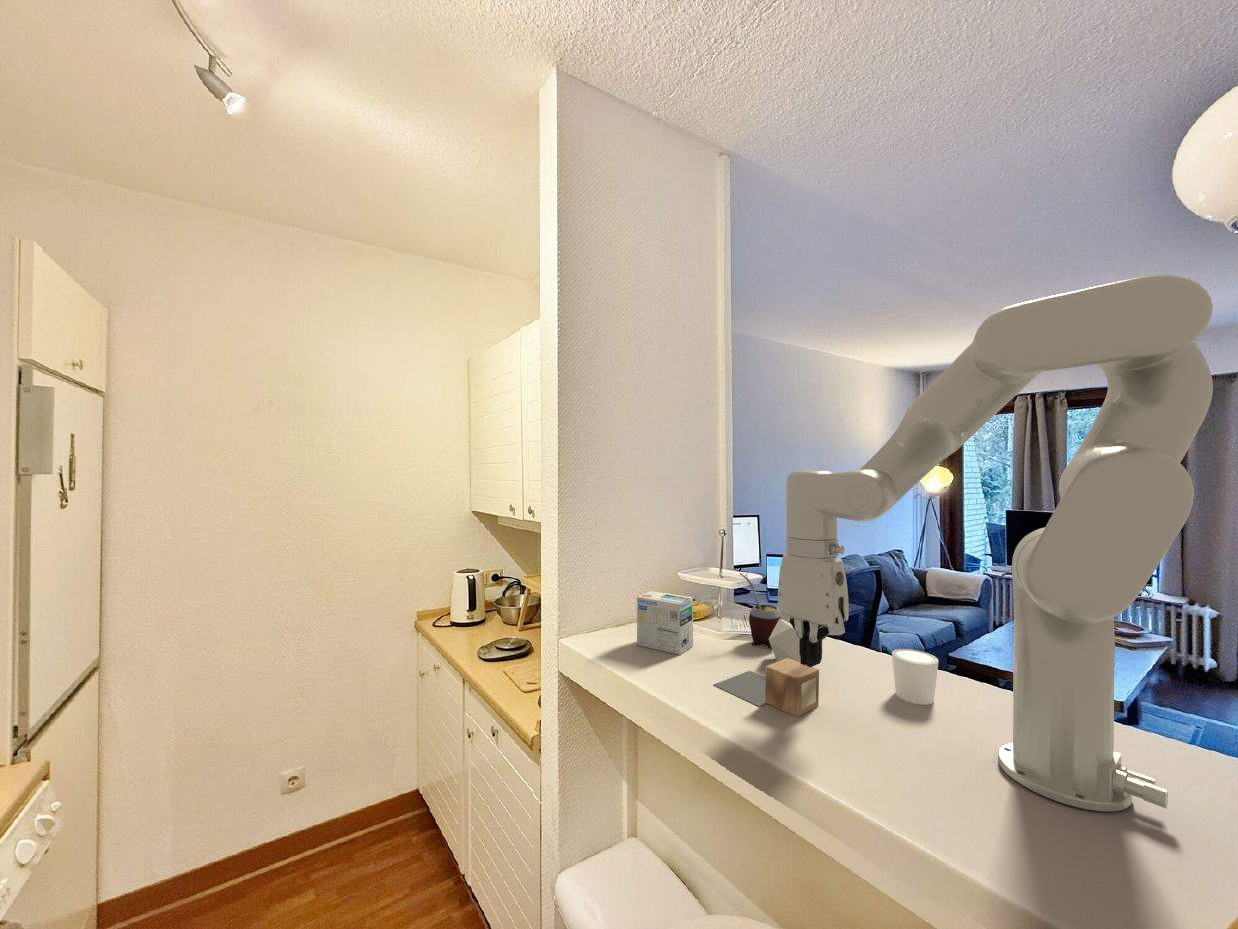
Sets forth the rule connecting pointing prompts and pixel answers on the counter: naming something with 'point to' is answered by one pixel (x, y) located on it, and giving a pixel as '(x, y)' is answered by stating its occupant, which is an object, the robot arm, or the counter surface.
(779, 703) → the walnut block
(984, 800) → the counter surface
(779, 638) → the die
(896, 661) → the white cylinder
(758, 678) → the mat
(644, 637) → the light bulb box
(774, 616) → the mate gourd
